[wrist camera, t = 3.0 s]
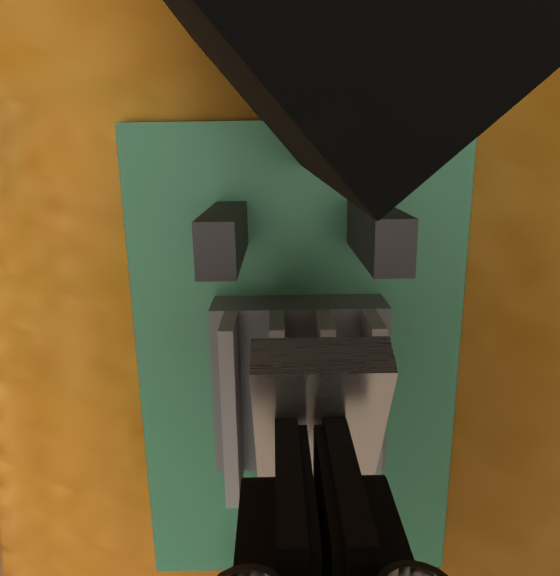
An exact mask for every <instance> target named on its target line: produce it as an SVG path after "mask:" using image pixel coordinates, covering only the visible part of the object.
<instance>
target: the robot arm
mask: <svg viewBox="0 0 560 576" xmlns="http://www.w3.org/2000/svg"><path fill="white" fill-rule="evenodd" d="M217 576H448V575H446V574H445V573H444V572H443V571H441V570H440V569H439V568H436V567H434V566H432V565H430V564H428V563H425V562H420V561H416V560H414V557H413V554H412V551H411V548H410V545H409V542H408V539H407V536H406V533H405V531H404V528H403V525H402V522H401V519H400V516H399V513H398V510H397V507H396V504H395V501H394V498H393V495H392V492H391V489H390V486H389V483H388V480H387V478H386V476H385V475H361V471H360V467H359V463H358V460H357V456H356V452H355V448H354V445H353V441H352V437H351V433H350V430H349V426H348V422H347V419H346V418H323V421H322V424H317V425H314V440H313V471H312V463H311V454H310V446H309V438H308V430H307V425H298V419H275V477H242V479H241V487H240V498H239V508H238V519H237V530H236V541H235V552H234V562H233V567H230V568H228V569H226V570H225V571H223V572H221V573H219V574H218V575H217Z"/></svg>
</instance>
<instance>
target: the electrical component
mask: <svg viewBox="0 0 560 576" xmlns="http://www.w3.org/2000/svg"><path fill="white" fill-rule="evenodd" d="M163 1H164V2H165V4H166V5H167V6H168V7H169V9H170V10H171V11H172V13H173V14H174V15H175V16H176V18H177V19H178V20H179V22H180V23H181V24H182V26H183V27H184V28H185V29H186V31H187V32H188V33H189V35H190V36H191V37H192V38H193V40H194V41H195V42H196V43H197V44H198V45H199V47H200V48H201V49H202V50H203V51H204V53H205V54H206V55H207V56H208V57H209V58H210V60H211V61H212V62H213V63H214V64H215V65H216V67H217V68H218V69H219V70H220V71H221V72H222V74H223V75H224V76H225V77H226V78H227V80H228V81H229V82H230V83H231V84H232V85H233V87H234V88H235V89H236V90H237V91H238V92H239V94H240V95H241V96H242V97H243V98H244V100H245V101H246V102H247V103H248V104H249V105H250V107H251V108H252V109H253V110H254V111H255V112H256V114H257V115H258V116H259V117H260V118H261V120H263V121H264V123H265V124H266V125H267V126H268V127H269V128H270V130H271V131H272V132H273V133H274V134H275V135H276V137H277V138H278V139H279V140H280V141H281V143H282V144H283V145H284V146H285V147H286V148H287V150H288V151H289V152H290V153H291V154H292V155H293V157H294V158H295V159H296V160H297V161H298V163H299V164H300V165H301V166H302V167H304V168H305V169H307V170H308V171H309V172H311V173H312V174H313V175H315V176H316V177H317V178H319V179H320V180H321V181H323V182H324V183H326V184H327V185H328V186H330V187H331V188H332V189H334V190H335V191H336V192H338V193H339V194H341V195H342V196H343V197H345V198H346V199H347V200H349V201H350V202H351V203H353V204H354V205H356V206H357V207H358V208H360V209H361V210H362V211H364V212H365V213H366V214H368V215H369V216H370V217H372V218H373V219H375V220H376V221H377V222H378V221H379V220H380V219H381V218H383V217H384V216H385V215H386V214H387V213H389V212H390V211H391V210H392V209H393V208H394V207H396V206H397V205H398V204H399V203H400V202H401V201H403V200H404V199H405V198H406V197H407V196H409V195H410V194H411V193H412V192H413V191H414V190H416V189H417V188H418V187H419V186H420V185H421V184H423V183H424V182H425V181H426V180H427V179H429V178H430V177H431V176H432V175H433V174H434V173H436V172H437V171H438V170H439V169H440V168H441V167H443V166H444V165H445V164H446V163H447V162H449V161H450V160H451V159H452V158H453V157H454V156H456V155H457V154H458V153H459V152H460V151H461V150H463V149H464V148H465V147H466V146H467V145H469V144H470V143H471V142H472V141H473V140H474V139H476V138H477V137H478V136H479V135H480V134H481V133H483V132H484V131H485V130H486V129H487V128H489V127H490V126H491V125H492V124H493V123H494V122H496V121H497V120H498V119H499V118H500V117H501V116H503V115H504V114H505V113H506V112H507V111H509V110H510V109H511V108H512V107H513V106H514V105H516V104H517V103H518V102H519V101H520V100H522V99H523V98H524V97H525V96H526V95H527V94H529V93H530V92H531V91H532V90H533V89H534V88H536V87H537V86H538V85H539V84H540V83H542V82H543V81H544V80H545V79H546V78H547V77H549V76H550V75H551V74H552V73H553V72H554V71H556V70H557V69H558V68H559V67H560V0H163Z"/></svg>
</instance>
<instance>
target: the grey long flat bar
mask: <svg viewBox="0 0 560 576" xmlns="http://www.w3.org/2000/svg"><path fill="white" fill-rule="evenodd" d="M397 376H398V370H397V365H396V361H395V356H394V352H393V348H392V343H391V339H390V336H369V337H303V338H251V345H250V369H249V379H250V391H251V403H252V415H253V428H254V440H255V452H256V465H257V477H275V419H298V425H307V430H308V438H309V446H310V454H311V463H312V471H313V440H314V425H317V424H322V421H323V418H346V419H347V422H348V426H349V430H350V433H351V437H352V441H353V445H354V448H355V452H356V456H357V460H358V463H359V467H360V471H361V475H375V473H376V469H377V464H378V460H379V455H380V451H381V447H382V442H383V438H384V433H385V429H386V425H387V420H388V416H389V411H390V407H391V403H392V398H393V394H394V389H395V385H396V381H397Z"/></svg>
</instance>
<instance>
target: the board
mask: <svg viewBox="0 0 560 576" xmlns="http://www.w3.org/2000/svg"><path fill="white" fill-rule="evenodd" d="M115 129H116V140H117V151H118V161H119V172H120V183H121V193H122V204H123V215H124V226H125V236H126V247H127V258H128V268H129V279H130V290H131V300H132V311H133V322H134V332H135V343H136V354H137V364H138V375H139V386H140V396H141V407H142V418H143V429H144V439H145V450H146V461H147V471H148V482H149V493H150V503H151V514H152V525H153V535H154V546H155V557H156V567H157V571H203V570H226V569H228V568H230V567H233V562H234V552H235V541H236V530H237V519H238V508H239V498H240V487H241V479H242V477H257V465H256V452H255V440H254V428H253V415H252V403H251V391H250V379H249V369H250V345H251V338H303V337H369V336H390V339H391V343H392V348H393V352H394V356H395V361H396V365H397V370H398V376H397V381H396V385H395V389H394V394H393V398H392V403H391V407H390V411H389V416H388V420H387V425H386V429H385V433H384V438H383V442H382V447H381V451H380V455H379V460H378V464H377V469H376V473H375V475H385V476H386V478H387V480H388V483H389V486H390V489H391V492H392V495H393V498H394V501H395V504H396V507H397V510H398V513H399V516H400V519H401V522H402V525H403V528H404V531H405V533H406V536H407V539H408V542H409V545H410V548H411V551H412V554H413V557H414V560H416V561H420V562H425V563H428V564H430V565H432V566H434V567H442V558H443V546H444V533H445V521H446V509H447V497H448V485H449V472H450V460H451V448H452V436H453V423H454V411H455V399H456V387H457V375H458V362H459V350H460V338H461V326H462V314H463V301H464V289H465V277H466V265H467V252H468V240H469V228H470V216H471V204H472V191H473V179H474V167H475V155H476V143H477V138H476V139H474V140H473V141H472V142H471V143H470V144H469V145H467V146H466V147H465V148H464V149H463V150H461V151H460V152H459V153H458V154H457V155H456V156H454V157H453V158H452V159H451V160H450V161H449V162H447V163H446V164H445V165H444V166H443V167H441V168H440V169H439V170H438V171H437V172H436V173H434V174H433V175H432V176H431V177H430V178H429V179H427V180H426V181H425V182H424V183H423V184H421V185H420V186H419V187H418V188H417V189H416V190H414V191H413V192H412V193H411V194H410V195H409V196H407V197H406V198H405V199H404V200H403V201H401V202H400V203H399V204H398V205H397V206H396V207H394V208H393V209H392V210H391V211H390V212H389V213H387V214H386V215H385V216H384V217H383V218H381V219H380V220H379V221H378V222H377V221H376V220H375V219H373V218H372V217H370V216H369V215H368V214H366V213H365V212H364V211H362V210H361V209H360V208H358V207H357V206H356V205H354V204H353V203H351V202H350V201H349V200H347V199H346V198H345V197H343V196H342V195H341V194H339V193H338V192H336V191H335V190H334V189H332V188H331V187H330V186H328V185H327V184H326V183H324V182H323V181H321V180H320V179H319V178H317V177H316V176H315V175H313V174H312V173H311V172H309V171H308V170H307V169H305V168H304V167H302V166H301V165H300V164H299V163H298V161H297V160H296V159H295V158H294V157H293V155H292V154H291V153H290V152H289V151H288V150H287V148H286V147H285V146H284V145H283V144H282V143H281V141H280V140H279V139H278V138H277V137H276V135H275V134H274V133H273V132H272V131H271V130H270V128H269V127H268V126H267V125H266V124H265V123H264V121H263V120H258V121H191V122H124V123H115Z"/></svg>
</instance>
